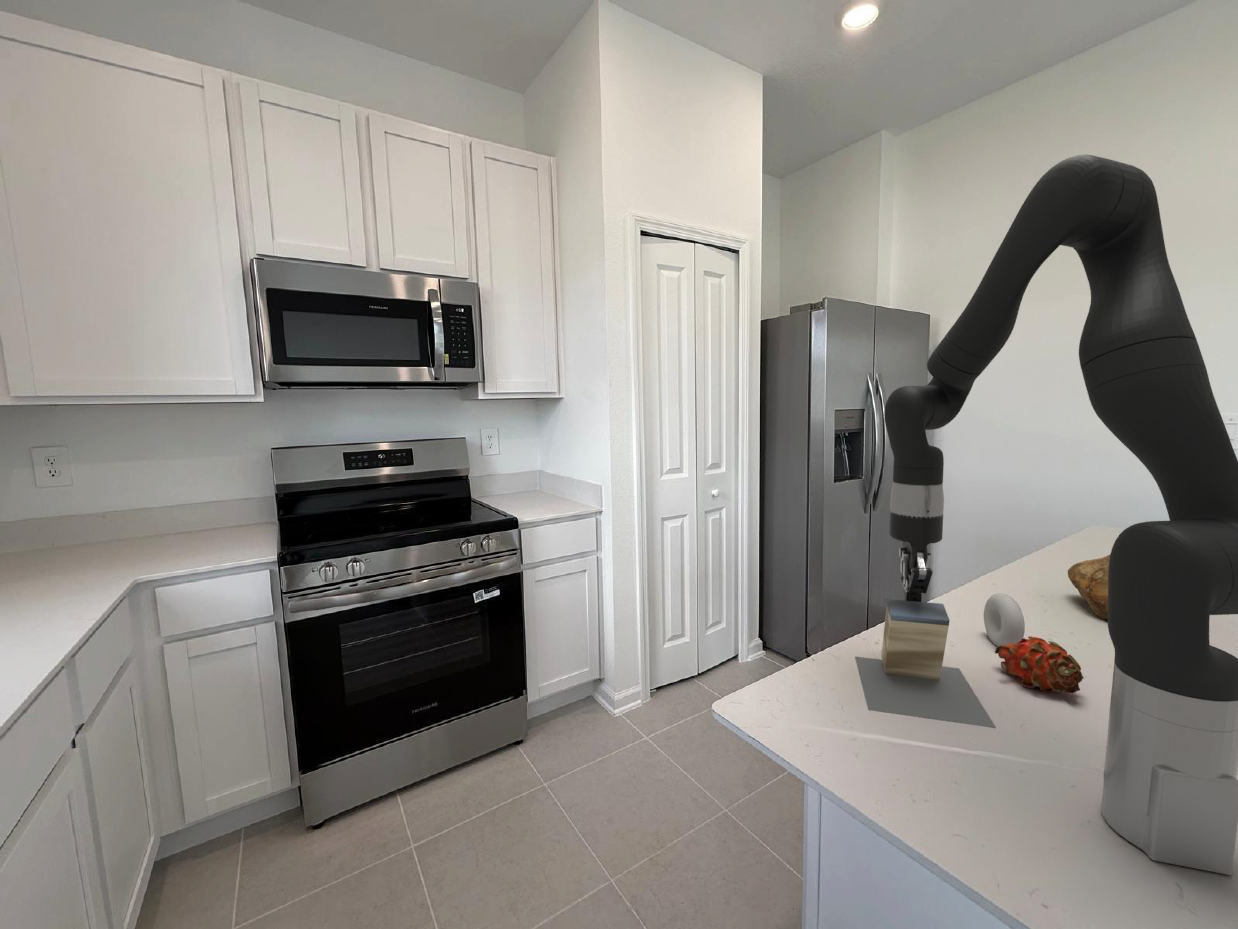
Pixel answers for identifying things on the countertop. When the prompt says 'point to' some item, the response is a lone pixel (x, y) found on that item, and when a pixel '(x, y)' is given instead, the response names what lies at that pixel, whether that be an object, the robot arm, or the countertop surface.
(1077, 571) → the rough brown rock
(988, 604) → the donut
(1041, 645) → the dragon fruit
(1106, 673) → the countertop surface
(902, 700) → the rubber mat
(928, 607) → the maple block
